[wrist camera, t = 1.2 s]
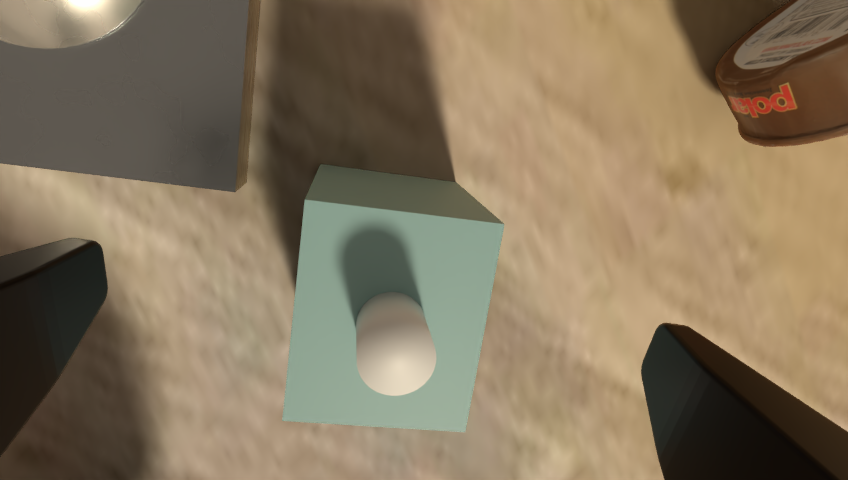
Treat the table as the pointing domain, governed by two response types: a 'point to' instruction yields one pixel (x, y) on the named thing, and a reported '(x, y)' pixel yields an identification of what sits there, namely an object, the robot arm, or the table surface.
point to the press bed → (130, 88)
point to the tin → (790, 75)
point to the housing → (389, 301)
